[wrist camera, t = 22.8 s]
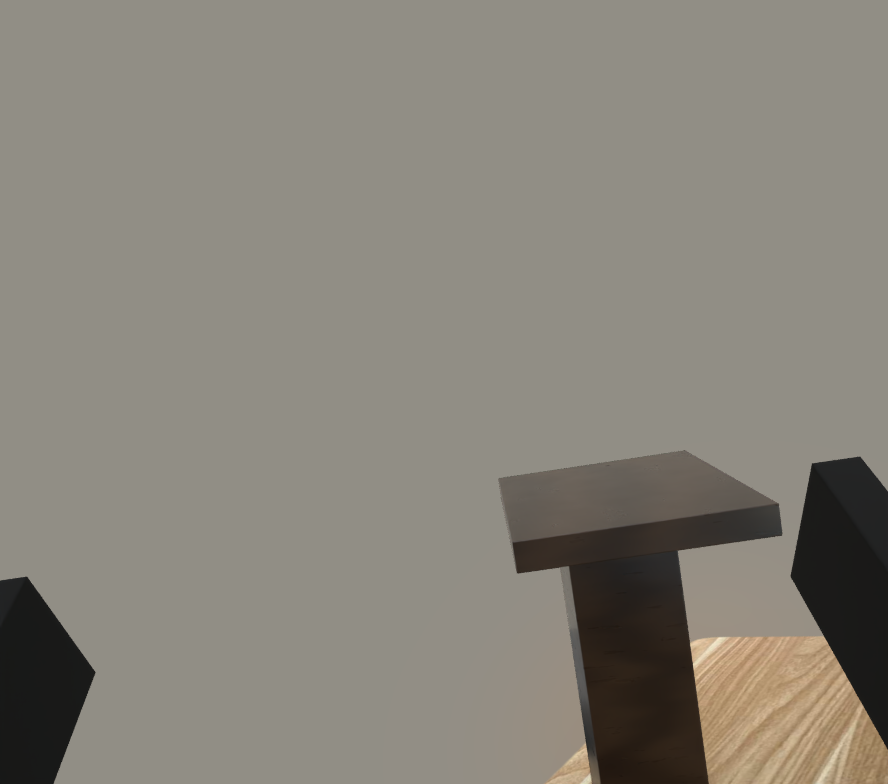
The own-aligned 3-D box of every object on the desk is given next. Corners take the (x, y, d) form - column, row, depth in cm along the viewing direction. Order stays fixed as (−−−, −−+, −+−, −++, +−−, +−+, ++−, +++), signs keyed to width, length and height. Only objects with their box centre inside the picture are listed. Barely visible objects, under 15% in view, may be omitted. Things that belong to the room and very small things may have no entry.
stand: (599, 1110, 36) (512, 542, 33) (559, 878, 51) (497, 474, 48) (849, 1082, 35) (779, 503, 33) (734, 856, 50) (680, 447, 48)
